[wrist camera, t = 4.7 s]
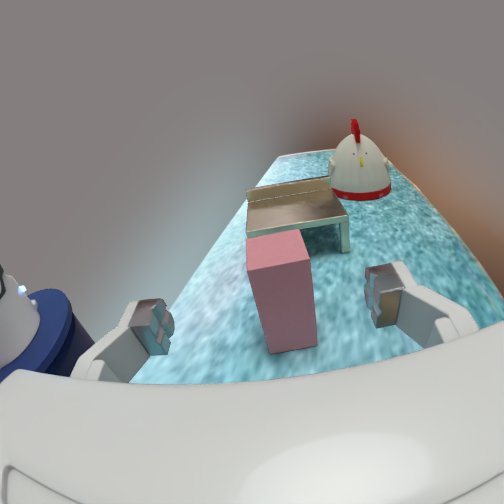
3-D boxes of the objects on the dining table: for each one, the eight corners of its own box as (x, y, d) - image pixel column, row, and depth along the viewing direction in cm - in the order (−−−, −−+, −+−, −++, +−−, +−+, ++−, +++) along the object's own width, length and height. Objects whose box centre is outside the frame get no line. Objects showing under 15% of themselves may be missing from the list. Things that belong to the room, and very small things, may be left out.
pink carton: (269, 354, 28) (246, 270, 22) (266, 320, 32) (245, 238, 27) (317, 345, 28) (310, 258, 22) (309, 312, 32) (299, 228, 26)
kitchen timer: (329, 202, 54) (320, 127, 47) (327, 178, 65) (319, 117, 58) (397, 198, 50) (395, 123, 43) (383, 175, 62) (379, 114, 54)
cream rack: (254, 267, 42) (242, 218, 37) (255, 230, 51) (245, 189, 47) (349, 252, 40) (347, 201, 36) (333, 218, 49) (329, 175, 45)
